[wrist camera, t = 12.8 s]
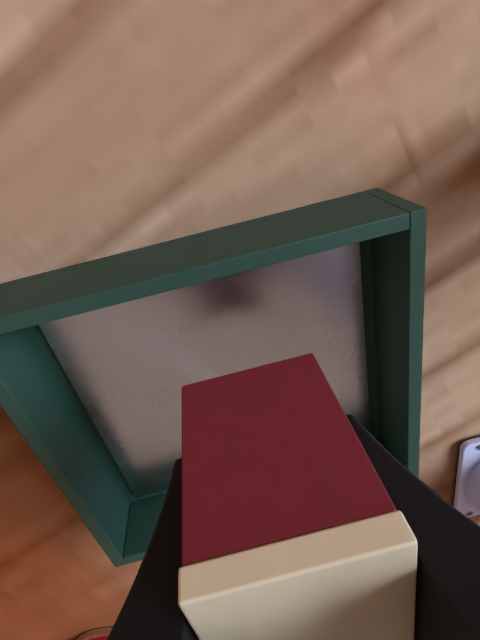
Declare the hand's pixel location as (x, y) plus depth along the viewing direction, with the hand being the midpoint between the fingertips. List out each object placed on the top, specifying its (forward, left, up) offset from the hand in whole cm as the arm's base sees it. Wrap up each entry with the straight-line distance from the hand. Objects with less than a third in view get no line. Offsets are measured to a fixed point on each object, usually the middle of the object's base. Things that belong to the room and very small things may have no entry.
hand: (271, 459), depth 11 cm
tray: (+1, +3, -8) cm, 9 cm away
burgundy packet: (0, 0, -1) cm, 1 cm away
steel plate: (+1, +3, -8) cm, 8 cm away
